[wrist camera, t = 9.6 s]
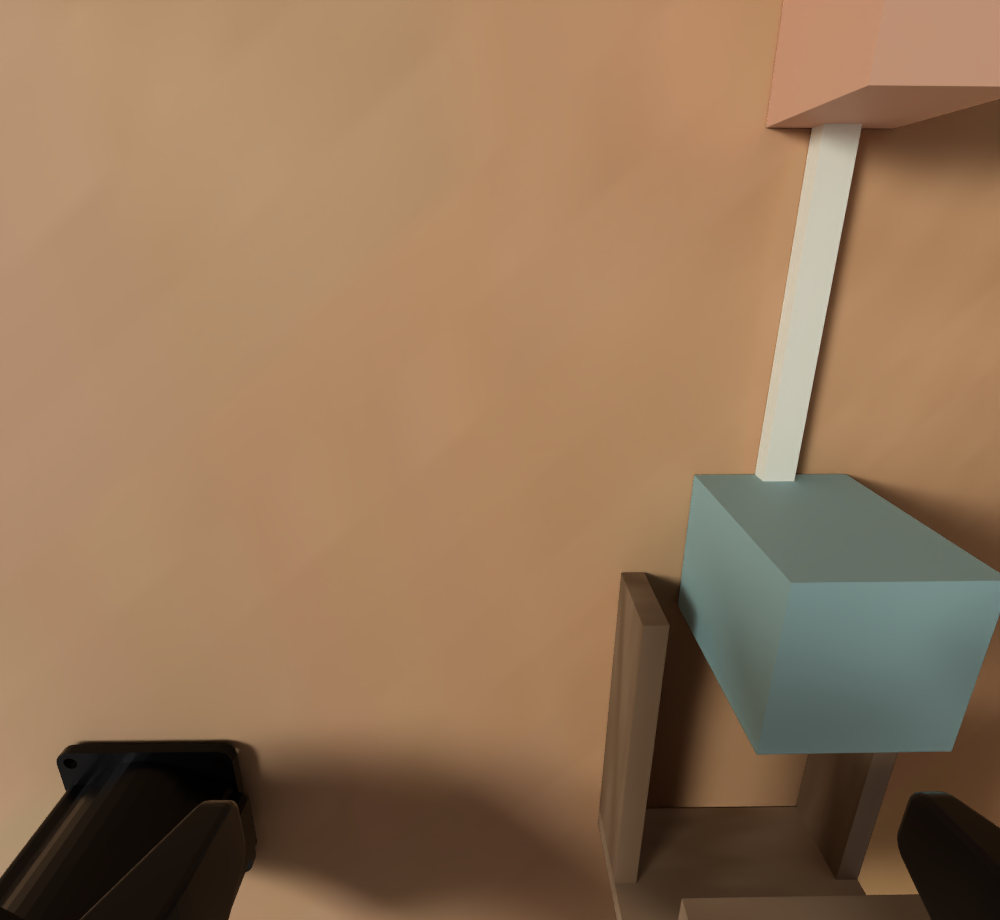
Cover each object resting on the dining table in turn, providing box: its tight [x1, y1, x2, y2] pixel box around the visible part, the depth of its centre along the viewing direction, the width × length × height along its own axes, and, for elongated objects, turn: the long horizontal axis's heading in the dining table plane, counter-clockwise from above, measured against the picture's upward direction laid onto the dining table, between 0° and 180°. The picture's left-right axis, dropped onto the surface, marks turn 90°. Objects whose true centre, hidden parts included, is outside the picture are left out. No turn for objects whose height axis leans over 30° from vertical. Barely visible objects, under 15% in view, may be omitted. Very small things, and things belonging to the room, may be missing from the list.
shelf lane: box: [598, 573, 931, 920], centre depth 18 cm, size 9×12×9 cm
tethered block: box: [678, 0, 1000, 754], centre depth 15 cm, size 5×18×6 cm, turn 0°
